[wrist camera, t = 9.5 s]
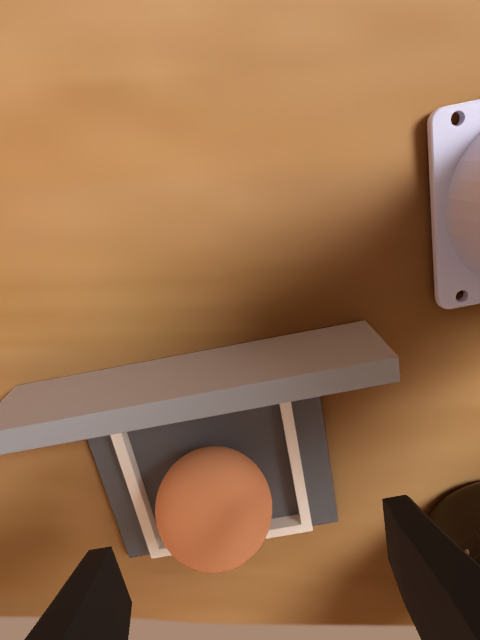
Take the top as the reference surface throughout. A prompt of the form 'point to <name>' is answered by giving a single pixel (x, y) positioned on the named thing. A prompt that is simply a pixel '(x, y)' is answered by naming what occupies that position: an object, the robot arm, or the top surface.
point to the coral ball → (213, 509)
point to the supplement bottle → (461, 518)
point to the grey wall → (196, 386)
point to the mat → (232, 432)
